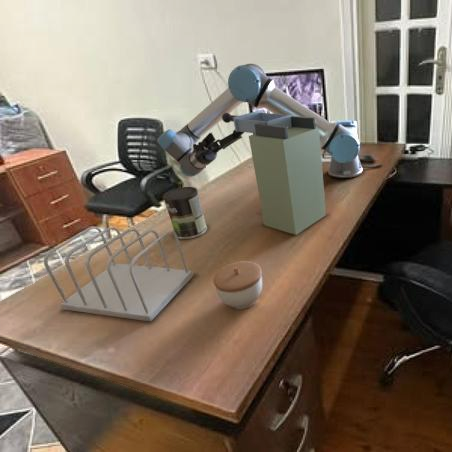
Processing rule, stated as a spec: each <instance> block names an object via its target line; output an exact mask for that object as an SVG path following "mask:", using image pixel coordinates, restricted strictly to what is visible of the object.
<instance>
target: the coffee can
mask: <svg viewBox="0 0 452 452" xmlns="http://www.w3.org/2000/svg"><path fill="white" fill-rule="evenodd" d="M162 199H163V201H164V205H165V207H166V209H167V213H168V216H169V219H170V222H171V225H172V229H173V231H174V232H175V233H176V234H177V236H178V239H181V240H190V239H194V238H198V237H199V236H200V237H201V236H202V235H204V233H206V232H207V230H208V226H207V223H206V219H205V215H204V211H203V208H202V205H201V200H200V197H199V193H198V188H196V187H194V186H182V187H176V188H173V189H170V190H168V191H166V192H165V193H163V195H162Z"/></svg>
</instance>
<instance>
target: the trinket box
mask: <svg viewBox="0 0 452 452" xmlns="http://www.w3.org/2000/svg"><path fill="white" fill-rule="evenodd" d="M213 284H214V287H215V290H216V292H217V294H218V297H219V298H220V299H221V301H222V302H223V303H224V304H225V305H227V306H229V307H232V308H234V309H237V310H242V309H246V308H249V307H251V306H253V305H254V304H255V303H256V301H257V300H258V298H260V296H261V294H262V291H263V276H262V268H261V266H260V265H259V264H258V263H256V262H253V261H249V260H240V261H235V262H231V263H229V264H228V263H227V264H226V265H224V266H223V267H221V268H219V269H218V271H216V273H214V276H213Z"/></svg>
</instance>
